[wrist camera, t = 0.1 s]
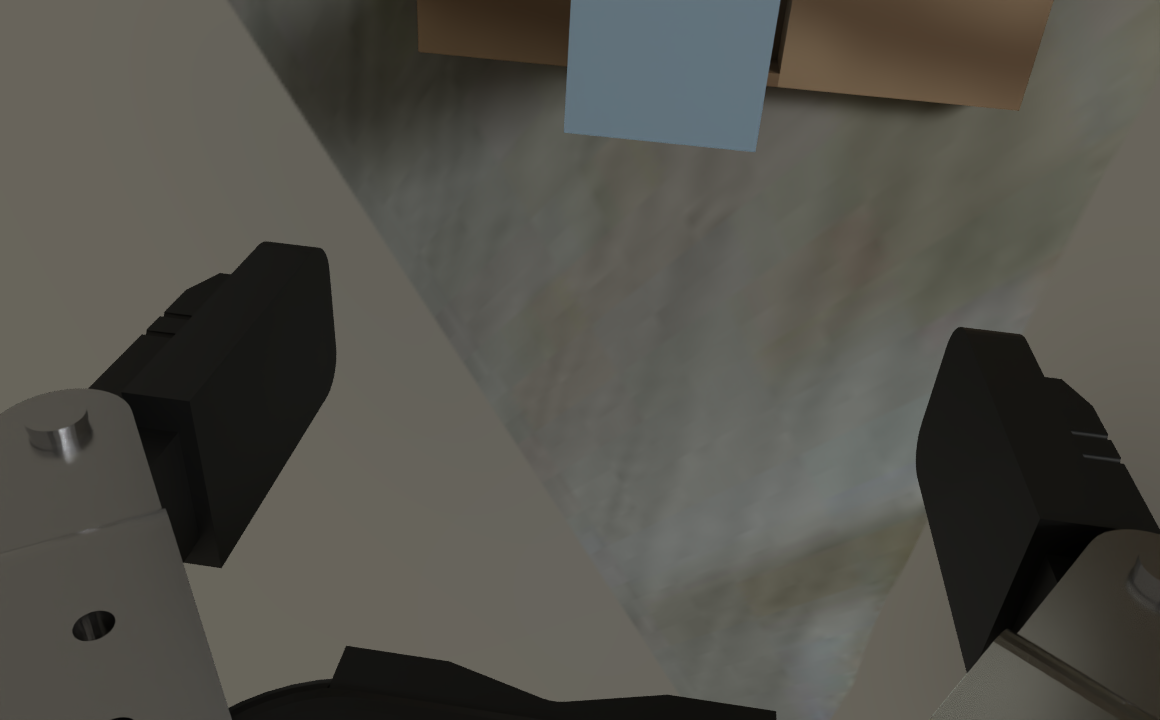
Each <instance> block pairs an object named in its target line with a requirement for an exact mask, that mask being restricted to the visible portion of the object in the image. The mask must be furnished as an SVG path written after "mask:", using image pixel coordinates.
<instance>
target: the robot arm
mask: <svg viewBox="0 0 1160 720" xmlns="http://www.w3.org/2000/svg"><path fill="white" fill-rule="evenodd" d="M335 367H336V342H335V331H334V319H333V307H332V296H331V284H330V272H329V264H328V259H327V256H326V254H325V252H324V251H323V249H321V248H316V247H308V246H300V245H291V244H283V243H275V242H263V243H261V244H259V245H258V246H257V247H256V249H255V250H254V251H253V252H252V253H251V254H250V255H249V256H248V257H247V258H246V259H245V260H244V261H243V262H242V263H241V265H240V266H239V267H238V268H237V269H236V270H235V271H234V272H233V273H232V274H223V273H219V274H217V275H215V276H213V277H211V278H209V279H207V280H205V281H203V282H201V283H199V284H198V285H195V286H193V287H191V288H189V289H187V290H186V291H185V292H184V293H183V294H182V295H181V296H180V297H179V298H178V299H177V300H176V301H175V302H174V303H173V304H172V305H171V306H170V307H169V308H168V309H167V310H166V311H165V312H164V317H161V316H160V317H159V318H158V319H157V320H156V321H155V322H154V323H153V324H152V325H151V326H150V327H149V328H148V329H147V333H146V335H141V336H140V337H139V338H138V339H137V340H136V341H135V342H134V343H133V344H132V345H131V346H130V347H129V348H128V349H127V350H126V351H125V352H124V353H123V354H122V355H121V356H120V357H119V358H118V359H117V360H116V361H115V362H114V363H113V364H112V365H111V366H110V367H109V368H108V369H107V370H106V371H105V372H104V373H103V374H102V375H101V376H100V377H99V378H98V379H97V380H96V381H95V382H94V383H93V384H92V385H91V386H90V387H89V388H88V389H67V390H60V391H54V392H49V393H46V394H42V395H38V396H35V397H32V398H30V399H27V400H25V401H22V402H20V403H18V404H16V405H14V406H12V407H11V408H9V409H7V410H6V411H4V412H3V413H1V414H0V720H776V711H771V710H764V709H758V708H751V707H745V706H738V705H732V704H725V703H718V702H712V701H705V700H699V699H692V698H686V697H679V696H672V695H657V696H643V697H630V698H614V699H600V700H585V701H571V702H555V701H549V700H546V699H542V698H540V697H537V696H535V695H532V694H529V693H527V692H525V691H522V690H520V689H517V688H515V687H512V686H510V685H507V684H505V683H502V682H500V681H497V680H495V679H492V678H489V677H487V676H485V675H482V674H479V673H477V672H474V671H472V670H469V669H467V668H464V667H462V666H459V665H457V664H454V663H452V662H449V661H442V660H436V659H429V658H423V657H416V656H410V655H403V654H397V653H390V652H384V651H376V650H370V649H364V648H357V647H351V646H346V648H345V650H344V653H343V655H342V657H341V659H340V662H339V664H338V666H337V669H336V671H335V674H334V676H333V679H326V680H325V679H324V680H316V681H311V682H305V683H299V684H294V685H290V686H286V687H283V688H279V689H275V690H272V691H268V692H265V693H263V694H260V695H257V696H255V697H252V698H250V699H247V700H245V701H242V702H240V703H238V704H236V705H234V706H232V707H230V708H228V706H227V702H226V699H225V696H224V693H223V690H222V686H221V683H220V680H219V677H218V674H217V671H216V667H215V664H214V661H213V658H212V654H211V651H210V648H209V645H208V642H207V638H206V635H205V632H204V629H203V625H202V622H201V620H200V616H199V613H198V610H197V606H196V603H195V600H194V597H193V593H192V590H191V587H190V584H189V581H188V578H187V574H186V571H185V568H184V565H183V563H190V564H197V565H204V566H211V567H217V568H222V566H223V565H224V563H225V562H226V560H227V558H228V557H229V555H230V553H231V552H232V550H233V549H234V547H235V545H236V544H237V542H238V540H239V539H240V537H241V535H242V534H243V532H244V531H245V529H246V527H247V526H248V524H249V523H250V521H251V519H252V517H253V516H254V514H255V513H256V511H257V510H258V508H259V506H260V505H261V503H262V501H263V500H264V498H265V497H266V495H267V493H268V492H269V490H270V488H271V487H272V485H273V484H274V482H275V480H276V479H277V477H278V475H279V474H280V472H281V471H282V469H283V467H284V466H285V464H286V462H287V461H288V459H289V457H290V456H291V454H292V452H293V451H294V449H295V448H296V446H297V445H298V443H299V441H300V440H301V438H302V436H303V435H304V433H305V432H306V430H307V428H308V427H309V425H310V423H311V422H312V420H313V418H314V417H315V415H316V414H317V412H318V410H319V409H320V407H321V405H322V404H323V402H324V401H325V399H326V397H327V396H328V393H329V391H330V388H331V386H332V382H333V378H334V373H335ZM1107 437H1108V433H1107V432H1106V430H1105V428H1104V426H1103V424H1102V423H1101V421H1100V419H1099V417H1098V415H1097V413H1096V411H1095V410H1094V408H1093V406H1092V405H1090V403H1089V402H1087V401H1086V400H1085V399H1084V398H1083V397H1081V396H1080V395H1079V394H1078V393H1077V392H1076V391H1075V390H1073V389H1072V388H1071V387H1070V386H1069V385H1068V384H1066V383H1065V382H1064V381H1063V380H1062V379H1056V378H1048V377H1044V375H1043V373H1042V371H1041V369H1040V367H1039V365H1038V363H1037V361H1036V359H1035V357H1034V355H1033V353H1032V351H1031V349H1030V347H1029V345H1028V343H1027V341H1026V339H1025V337H1024V336H1022V335H1020V334H1014V333H1005V332H997V331H989V330H981V329H972V328H964V327H959V328H957V329H956V330H955V331H954V332H953V334H952V335H951V337H950V339H949V342H948V344H947V347H946V350H945V353H944V356H943V359H942V363H941V366H940V369H939V372H938V375H937V378H936V381H935V384H934V387H933V390H932V393H931V397H930V400H929V403H928V406H927V409H926V412H925V415H924V418H923V421H922V424H921V428H920V431H919V436H918V442H917V450H916V471H917V478H918V482H919V486H920V490H921V494H922V498H923V502H924V505H925V509H926V513H927V517H928V521H929V525H930V529H931V533H932V537H933V541H934V545H935V549H936V553H937V557H938V561H939V564H940V569H941V572H942V576H943V580H944V584H945V588H946V592H947V596H948V600H949V604H950V608H951V612H952V616H953V620H954V624H955V628H956V632H957V635H958V639H959V644H960V648H961V652H962V656H963V659H964V663H965V667H966V671H967V674H966V675H965V677H964V678H963V679H962V680H961V682H960V683H959V684H958V685H957V686H956V688H955V689H954V690H953V691H952V692H951V694H950V695H949V696H948V697H947V699H946V700H945V701H944V702H943V704H942V705H941V706H940V707H939V708H938V709H937V711H936V712H935V713H934V714H933V715H932V717H931V718H930V719H929V720H1160V529H1159V528H1158V525H1157V524H1156V522H1155V520H1154V518H1153V516H1152V515H1151V513H1150V511H1149V509H1148V507H1147V505H1146V503H1145V502H1144V500H1143V498H1142V496H1141V494H1140V492H1139V490H1138V489H1137V487H1136V485H1135V483H1134V481H1133V479H1132V478H1131V476H1130V474H1129V472H1128V470H1127V469H1126V467H1125V465H1124V464H1120V459H1121V457H1120V455H1119V454H1118V452H1117V450H1116V448H1115V446H1114V444H1113V443H1112V441H1111V440H1107Z"/></svg>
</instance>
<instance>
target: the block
mask: <svg viewBox="0 0 1160 720" xmlns="http://www.w3.org/2000/svg"><path fill="white" fill-rule="evenodd" d="M779 6H780V0H571V9H570V28H569V47H568V65H567V84H566V103H565V122H564V133H574V134H583V135H593V136H603V137H613V138H622V139H632V140H642V141H652V142H661V143H671V144H681V145H691V146H700V147H710V148H720V149H730V150H739V151H749V152H755V151H756V145H757V139H758V133H759V127H760V121H761V115H762V109H763V103H764V97H765V90H766V84H767V78H768V72H769V66H770V60H771V54H772V48H773V42H774V36H775V30H776V24H777V18H778V12H779Z"/></svg>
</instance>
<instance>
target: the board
mask: <svg viewBox="0 0 1160 720" xmlns="http://www.w3.org/2000/svg"><path fill="white" fill-rule="evenodd" d="M1053 1H1054V0H780V6H779V12H778V18H777V24H776V30H775V36H774V42H773V48H772V54H771V60H770V66H769V72H768V78H767V84H766V86H772V87H782V88H793V89H803V90H813V91H823V92H834V93H844V94H854V95H864V96H875V97H885V98H895V99H905V100H916V101H926V102H936V103H946V104H957V105H967V106H977V107H987V108H998V109H1008V110H1018V111H1019V109H1020V106H1021V103H1022V100H1023V97H1024V93H1025V90H1026V87H1027V84H1028V81H1029V77H1030V74H1031V71H1032V68H1033V65H1034V61H1035V58H1036V55H1037V52H1038V49H1039V45H1040V42H1041V39H1042V36H1043V33H1044V29H1045V26H1046V23H1047V20H1048V17H1049V13H1050V10H1051V7H1052V4H1053ZM570 9H571V0H417V19H418V52H423V53H434V54H444V55H454V56H464V57H475V58H485V59H495V60H505V61H516V62H526V63H536V64H546V65H557V66H567V65H568V47H569V28H570Z"/></svg>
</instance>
